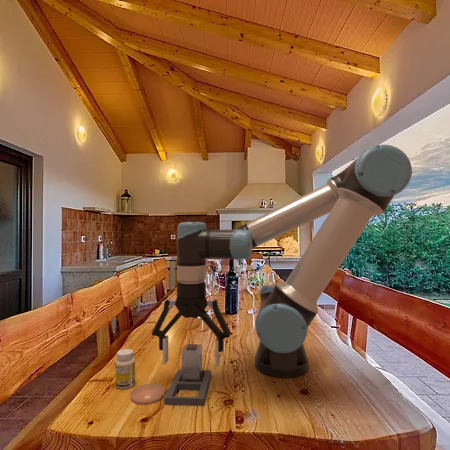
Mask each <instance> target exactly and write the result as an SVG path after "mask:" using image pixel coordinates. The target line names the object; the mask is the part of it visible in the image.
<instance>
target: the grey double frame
mask: <svg viewBox="0 0 450 450" xmlns="http://www.w3.org/2000/svg"><path fill="white" fill-rule="evenodd" d="M211 378H212V370H211V369H209V370H208V369H202V381H201V382H182V369H178V370H177V371H176V374H175V375H174V377H173V380H172V382H171V383H170V385H169V387H168V389H167V391H166V392H165V395H164V397H163V402H164V406H165V405H170V406H171V405H173V406H200V407H204V405H205V401H206V398H207V395H208V389H209V387H210V382H211ZM178 390H180V391H198V394H197V396H176V394H177V392H178Z"/></svg>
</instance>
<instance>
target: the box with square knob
mask: <svg viewBox="0 0 450 450" xmlns="http://www.w3.org/2000/svg"><path fill="white" fill-rule="evenodd" d="M181 370H182V381H181V382H202V381H203V377H202V370H203V345H202V344H197V343H194V344H193V343H185V344H184V345H183V348H182V349H181Z"/></svg>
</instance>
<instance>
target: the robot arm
mask: <svg viewBox="0 0 450 450" xmlns="http://www.w3.org/2000/svg"><path fill="white" fill-rule="evenodd" d="M412 175H413V167H412V164H411V161H410V158H409V157H408V155H407V154H406V153H405V152H404V151H403V150H401V149H400V148H399V147H396V146H394V145H390V144H378V145H373V146H371V147H369V148H367V149H364V150H363V151H362V152H361V153H360V154H359V155H358V156H357V158H356V159H355V160H353V161H352V162H351V163H350V164H349V165H348V166H347V167H346V168H344V169H343V170H342V171H341V172H339V173H337V174H336V175H334V176H332V177H330V178H328V179H327V182H326V184H324V185H321V186H320V187H317V188H316V189H314V190H312V191H310V192H307V193H306V194H304V195H302V196H299V197H298V198H295V199H293V200H291V201H290V202H287V203H285V204H283V205H280V206H279V207H277V208H274V209H273V210H271V211H269V212H266V213H264V214H263V215H260V216H258V217H257V218H254V219H252V220H250V221H248V222H247V223H244V224H242V225H240V226H238V227H236V228H234V229H208V228H207V224H206V223H205V222H203V221H184V222H183V221H182V222H180V223H179V224H177V232H176V233H177V234H176V280H177V281H178V282H177V283H176V299H175V300H173V299H172V298H166V299H165V301H164V304H163V308H162V309H163V310H162V311H161V314H160V316H159V317H158V319H157V322H156V324H155V326H154V327H153V329H152V331H151V335H152V336H153V337H154V336H155V337H157V338H158V348H159V351H162V365H166V364H167V363H168V362H169V335H166V334H167V333H168V332H169V331H170V330H171V329H172V328H173V326H174V325H175V324H176V323H177V322H178V321H179V319H180V318H181V317H183V318H184V319H187V318H188V319H189V318H192V319H197V318H200V319H201V320H202V321H203V322H204V323H205V324H206V325H207V327H208V328H209V329H210V330H211V332H212V333H213V334H214V336H215V340H214V341H215V342H214V343H215V345H214V346H215V353H214V355H215V356H214V357H215V359H214V360H215V361H214V362H215V363H214V365H215V367H219V365H220V353H223V351H224V340H225V339H227V338H230V336H231V330H230V327H229V326H228V324H227V322H226V320H225V318H224V316H223V314H222V313H223V312H221V309H220V308H219V300H218V299H217V298H215V299H213V300H207V294H206V293H207V292H206V291H207V283H206V282H205V281H206V279H207V267H206V266H207V264H206V263H207V259H208V260H211V259H218V260H219V259H220V260H236V261H240V260H249V259H251V257H252V253H253V249H255V248H257V247H259V246H261V245H263V244H265V243H267V242H269V241H272V240H274V239H276V238H278V237H280V236H282V235H284V234H287V233H288V232H291V231H293V230H295V229H298V228H299V227H301V226H304V225H306V224H308V223H311V222H312V221H315V220H317V219H319V218H321V217H323V216H325V215H327V216H326V218H325V220H324V221H323V222H322V224H321V226H320V227H319V229H318V230H317V232H316V234H315V236H314V237H313V238H312V240H311V241H310V243H309V245H308V246H307V248H306V249H305V250H304V253H303V254H302V256H301V257H300V258H299V260H298V262H297V263H296V265H295V267H294V268H293V270H292V271H291V273H290V274H289V276H288V277H287V279H286V280H285V281H283V282H282V281H281V282H278V283H276V285H262V286H261V288H260V293H259V297H260V298H259V300H260V303H259V305H260V306H259V309H258V313H257V315H256V319H255V321H254V322H255V325H254V326H255V331H256V334H257V338H258V339H259V342H258V346H257V349H256V352H255V355H254V356H255V357H254V365H255V368H256V369H257V370H258V371H259V372H261V373H262V374H265V375H268V376H271V377H275V378H295V377H300V376H302V375H304V374H306V373H307V372H308V371H309V357H308V354H307V352H306V348H305V345H304V343H305V341H306V338H307V337H308V336H307V335H308V328H309V326H310V325H311V323H312V322H313V320H314V319H315V318H316V317H317V314H318V313H319V307H318V300H319V299H320V297H321V296H322V294H323V293H324V291H325V290H326V288H327V287H328V285H329V283H330V282H331V280H332V279H333V278H334V276H335V274H336V272H337V271H338V270H339V268H340V266H341V265H342V263H343V262H344V260H345V259H346V257H347V256H348V254H349V253H350V252H351V250H352V249H353V247H354V245H355V243H356V242H357V240H358V238H360V236H361V235H362V233H363V231H365V228H366V227H367V226H368V224H369V222H370V220H371V219H372V218H373V217H376V216H380V215H382V214H384V212H385V211H386V209H387V207H388V206H389V205H390V203H391V202H392V200H393V199H394V197H395V196H396V195H398V194H400V193H401V192H402V191H403V190H405V189H406V187H407V186H408V184H409V183H410V182H411V178H412V177H413V176H412ZM173 307H175V308H176V309H177V310H178V312H177V313H176V314H174V315H175V316H173V317H172V319H171V320H170V321H169V322H168V324H167V325H166V326H165V327H164V328H163V330H161V328H162V326H163V324H164V322H165V320H166V317H167V316H168V314H169V312H170V310H171V309H172V308H173ZM207 307H209V308H210V309H211V310H212V311H213V313H214V314H213V315H214V316H215V318H216V320H217V322H218V324H219V326H220V328H221V329H220V328H219V326H218V325H217V324H216V323H215V321H214V320H213V319H212V318H211V316H210V315H209V314H208V312H207V311H206V309H207Z"/></svg>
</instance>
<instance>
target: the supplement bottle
mask: <svg viewBox="0 0 450 450" xmlns="http://www.w3.org/2000/svg"><path fill="white" fill-rule="evenodd" d="M135 384H136V359H135V357H134V350H133V349H132V348H131V349H130V348H125V349H124V348H123V349H120V350H118V351H117V352H116V360H115V386H116V388H118V389H119V390H120V389H121V390H123V389H129V388H131V387H134V385H135Z"/></svg>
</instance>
